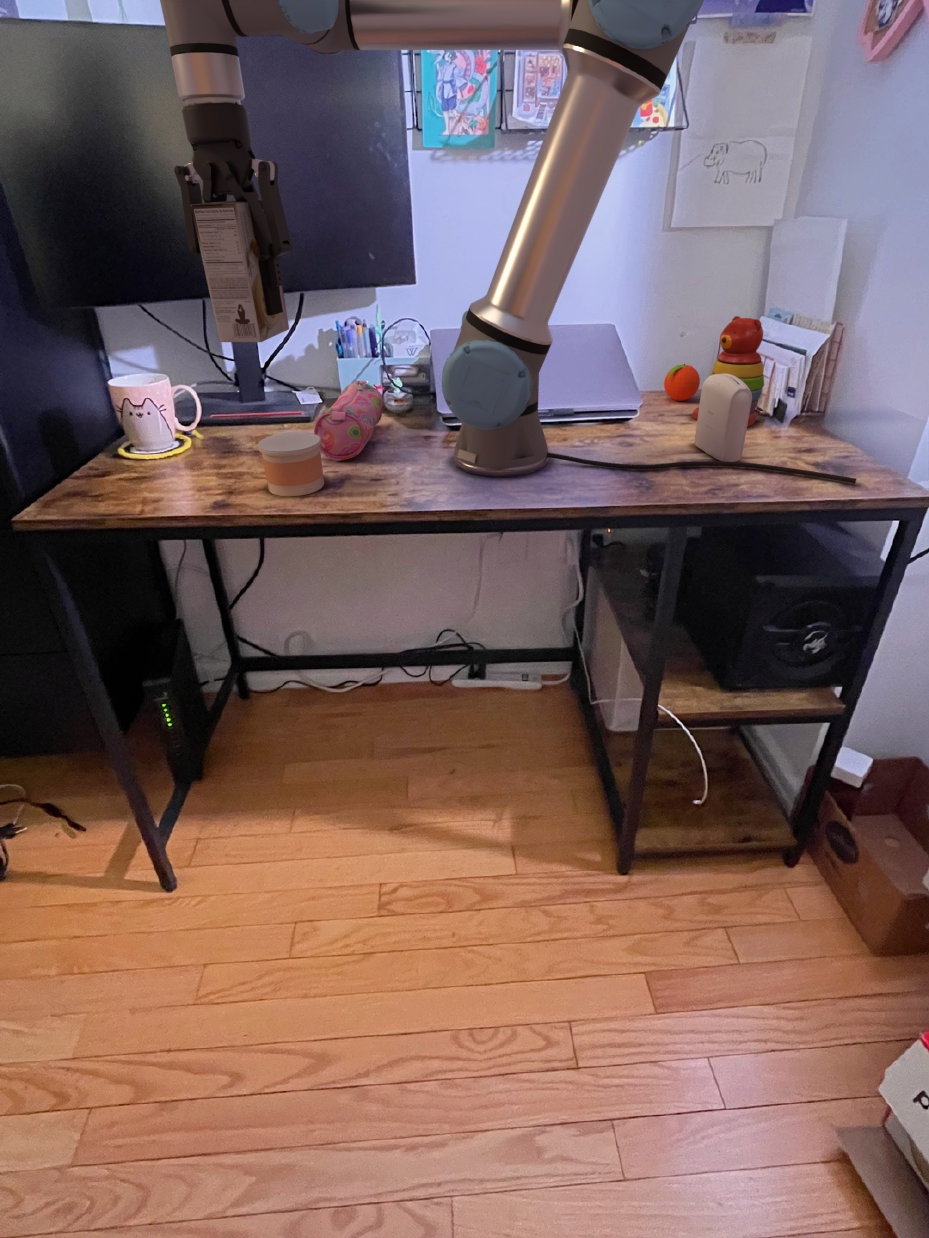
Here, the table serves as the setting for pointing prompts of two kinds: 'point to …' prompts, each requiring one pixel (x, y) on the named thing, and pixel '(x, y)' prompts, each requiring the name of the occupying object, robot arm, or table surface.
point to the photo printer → (723, 417)
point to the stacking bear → (742, 357)
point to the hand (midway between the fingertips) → (251, 312)
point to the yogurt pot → (292, 463)
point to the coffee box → (235, 272)
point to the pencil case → (349, 421)
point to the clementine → (681, 382)
